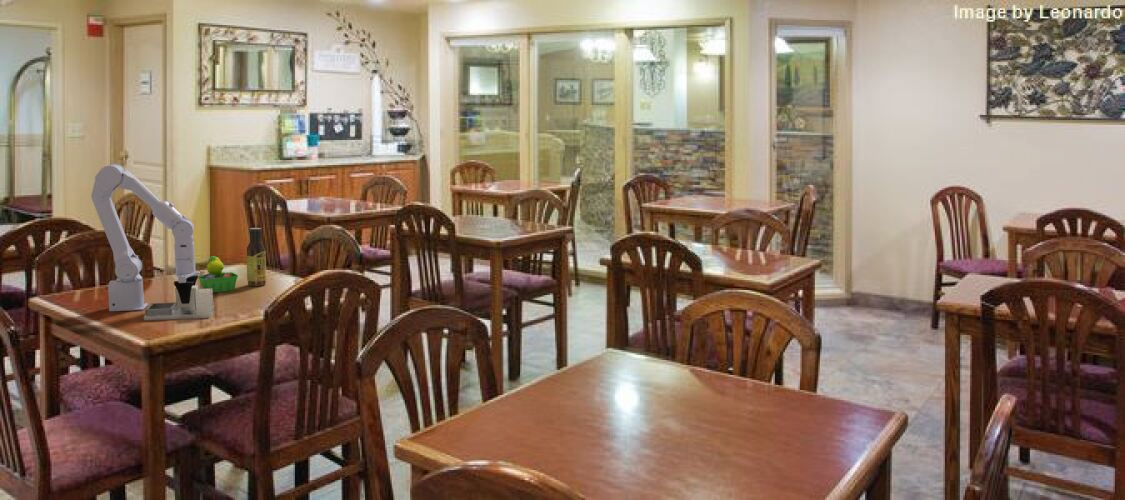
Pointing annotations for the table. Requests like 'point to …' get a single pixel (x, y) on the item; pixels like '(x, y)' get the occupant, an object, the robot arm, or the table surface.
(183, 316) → the grey boxy piece
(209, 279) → the fruit basket
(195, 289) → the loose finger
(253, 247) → the sauce bottle
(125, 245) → the robot arm
